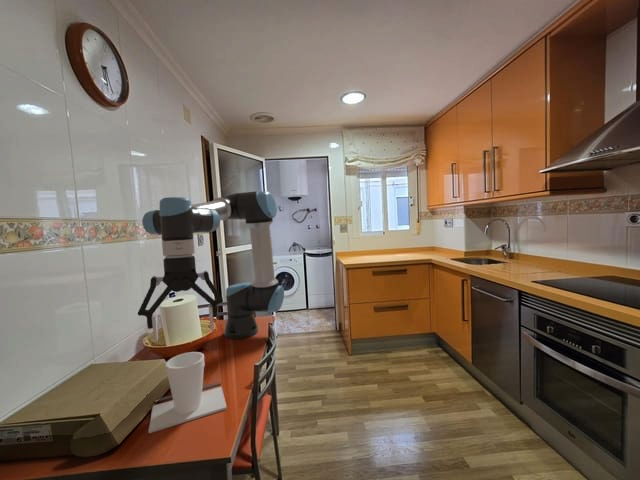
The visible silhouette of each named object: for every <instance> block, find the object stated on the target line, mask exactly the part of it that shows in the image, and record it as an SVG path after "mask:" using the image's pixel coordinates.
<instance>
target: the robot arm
mask: <svg viewBox="0 0 640 480" xmlns="http://www.w3.org/2000/svg"><path fill="white" fill-rule="evenodd" d="M191 201H192V200H191V199H190V198H188V197H182V196H181V197H180V196H174V197H173V196H171V197H170V196H169V197H163V198H161V199H160V200H159V209H155V210H149V211H146V213H144V214H143V216H142V220H141V222H142V226H143V229H144V231H145V232H147V233H148V234H150V235H158V236H160V235H161V247H162V256H163V257H165V258H164V259H163V273H164V274H163V276H152V277H150V285H149V286H150V287H149V288H148V290H147V292H146V295H145V297H144V299H143V301H142V303H141V305H140V307H139V310H138V312H137V316H144V317H146V323H147V324H146V325H147V326H146V327H147V329H149V330H151V329H152V337H153V342H154V343H157V342H158V339H159V331H158V321H157V313H155V312H156V310H157V309H158V308H159V307H160V306H161V304H162V303H163V302H164V301H165V300H166V298H167V297H168V295H169V294H170V293H171V292H174V293H178V292H181V291H186V292H187V291H189V290H193V291H195V292H196V293H197V294H198V295H199V296H200V297H201V298H203V299H204V300H205V301H206V302H207V303H209V305H208V319H209V329H210V331H214V330H215V329H214V328H215V327H214V326H215V325H214V318H217V317H218V310H217V306H218V305H219V304H222V303H223V302H224V300H223V298H222V296H221V295H220V292H219V291H218V290H217V288H216V287H215V285H214V284H213V282H212V280H211V279H210V275H209V271H208V270H204V271H202V272H197V270H196V257H195V256H194V255H193V254H195V253H196V252H195V240H194V234H197V233H198V234H199V233H208V234H209V233H211V232H215V231H216V230H218V228H219V226H220V224H221V221H226V220H245V225H247V226H248V227H249V232H250V233H249V234H250V242H251V250H252V251H251V253H252V260H253V262H252V263H253V271H254V281H253V282H250V281H246V282H240V283H235V284H231V285H229V286H227V287H226V290H225V298H226V301H225V302H226V314H227V315H226V317H227V320H226V323H225V326H224V337H225V338H227V339H229V340H241V339H245V338H251V337H252V336H255V335H256V334H257V333H258V332H259V328H258V327H259V326H258V323H257V321H256V318H255V315H254V313H255V312H257V313H258V312H259V313H277V312H278V311H279V310H280V309H281V308H282V305H283V302H284V297H285V289H284V286H282V285H279V280H278V279H277V278H276V277H275V269H274V259H273V256H274V255H273V248H272V237H271V236H272V235H271V225H272V223H273V218H275V217H276V216H277V203H276V200H275V198H274V197H273V194H272V193H270V192H269V191H265V190H257V191H249V192H248V191H247V192H235V193H231V194H228V195H224V196H220V197H216V198H214V199H212V200H211V201H207V202H202V203H195V204H192V202H191ZM199 278H200V279H201V280H202V281H204V282H205V284H206V285H207V286H208V288H209V290H210V291H211V292H212V294H213V296H214V298H215V299H214V298H213V297H211V296H210V295H209V294H208V293H207V292H206V291H205V290H203V288H201V287H200V286H199V285H198V284H197V283H196V282H197V280H198V279H199ZM161 282H163V283H164V284H165V286H166V287H165V289H164V290H163V291H162V293H160V295H159V296H158V298H157V299H156V300H155V302H153V304H152V305H151V306H150V307H149V309H147V307H148V305H149V303H150V300H151V298H152V296H153V294H154V292H155V290H156V287H158V286H159V285H160V284H161Z"/></svg>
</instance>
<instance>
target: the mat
mask: <svg viewBox="0 0 640 480" xmlns="http://www.w3.org/2000/svg"><path fill="white" fill-rule="evenodd" d="M225 410H227V403H226V399H225V395H224V391H223V387H222V386H219V387H216V388H215V387H214V388H211V389H208V390H205V391H202V400H201V405H200V407H199V408H198V409H196V410H195V411H193V412H190V413H187V414H178V413H177V412H176V410H175V406H174V402H173V399H172V400H169V401H166V402H162V403H158V404H154V405H152V409H151V414H150V415H151V416H150V420H149V426H148V434H152V433H155V432H158V431H162V430H164V429H168V428H171V427H174V426H178V425H180V424H183V423H186V422H189V421H193V420H196V419H200V418H203V417H206V416H209V415H212V414H215V413H218V412H222V411H225Z"/></svg>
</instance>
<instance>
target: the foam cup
mask: <svg viewBox="0 0 640 480" xmlns="http://www.w3.org/2000/svg"><path fill="white" fill-rule="evenodd" d="M205 365H206V363H205V354H204V353H202V352H201V351H200V352H199V351H191V352H183V353H181V354H178V355H176V356H173V357H171V358H170V359H168V360H166V362H165V371H166V373H165V374H166V376H167V379H168V383H169V387H170V392H171V395H172V397H173V398H172V400H173V402H174V406H175V410H176V412H177V413H178V414H187V413H190V412H193V411H195V410H196V409H198V408H199V407H200V405H201V400H202V392H203V390H202V387H204V385H203V383H204V370H205Z"/></svg>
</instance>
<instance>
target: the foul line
mask: <svg viewBox="0 0 640 480" xmlns="http://www.w3.org/2000/svg"><path fill="white" fill-rule="evenodd" d="M221 384H222V383H221V382H220V381H219V382H216V383H212V384H207V385H203V386H202V391H203V390H207V389H210V388H211V389H212V388H213V387H214V388H215V387H218V386H221ZM160 398H161V399H160V401H159V403H160V402H163V401H167V400H170V399H173V397H172V394H171V395H167V396H163V397H160Z"/></svg>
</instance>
